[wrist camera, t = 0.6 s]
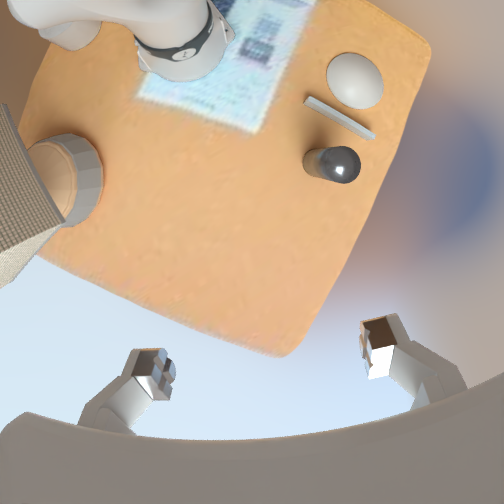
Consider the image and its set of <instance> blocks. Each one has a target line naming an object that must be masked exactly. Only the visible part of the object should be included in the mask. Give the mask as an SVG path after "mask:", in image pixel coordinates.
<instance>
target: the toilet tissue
mask: <svg viewBox="0 0 504 504" xmlns="http://www.w3.org/2000/svg"><path fill="white" fill-rule="evenodd" d="M101 24H102V21H89V20H88V21H75V22H68V23H64V24H60V25H56V26H53V27H50V28H46V29H38V31H39V35H40V36H41V37H43V38H44V39H46V40H48V41H50V42H52V43H54V44H56V45H58V46H60V47H62V48H63V49H65V50H68V51H76V50H79V49H81V48H83V47H85V46H86V45H88V44H89V43H90V42H91V41H92V40H94V38H95V37H96V36H97V34H98V32H99V30H100V28H101Z"/></svg>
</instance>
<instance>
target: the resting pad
mask: <svg viewBox="0 0 504 504" xmlns="http://www.w3.org/2000/svg"><path fill="white" fill-rule="evenodd" d="M326 79H327V84H328V87H329V89H330V91H331V92H332V94H333V95H334V96H335V98H336V99H337V100H338V101H340V102H341V103H342V104H344V105H346V106H348V107H350V108H353V109H367V108H370V107H372V106H374V105H376V104H377V103H378V102H379V100H380V99H381V97H382V94H383V89H384V84H383V79H382V76H381V74H380V72H379V70H378V69H377V67H376V66H375V65H374V64H373V63H372V62H371V61H370V60H368V59H367V58H365V57H363V56H361V55H358V54H354V53H346V54H341V55H339V56H337V57H336V58H334V59H333V60H332V61H331V63H330V64H329V66H328V68H327V73H326Z"/></svg>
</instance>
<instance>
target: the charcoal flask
mask: <svg viewBox="0 0 504 504" xmlns="http://www.w3.org/2000/svg"><path fill="white" fill-rule="evenodd" d="M303 168H304V170H305V171H306V172H307V173H308V174H309V175H311V176H314V177H318V178H322V179H326V180H330V181H334V182H338V183H343V184H345V183H350V182H352V181H353V180H355V179H356V178H357V176H358V175H359V173H360V169H361V162H360V159H359V156H358V155H357V153H356V152H355V151H354V150H353V149H351V148H349V147H346V146H339V147H329V148H321V149H313V150H310V151H308V152H307V153H306V154H305V156H304V158H303Z"/></svg>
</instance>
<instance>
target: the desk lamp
mask: <svg viewBox="0 0 504 504" xmlns="http://www.w3.org/2000/svg"><path fill="white" fill-rule="evenodd" d="M103 187H104V183H103V165H102V163H101V160H100V157H99V155H98V152H97V150H96V149H95V148H94V147H93V146H92V145H91V143H90V142H89V141H88V140H87V139H86V138H83V137H80V136H77V135H74V134H71V133H67V134H61V135H57V136H53V137H50V138H47V139H44V140H41V141H38V142H36V143H35V144H34V145H33V146H31V147H30V148H29V149H28V150H26V148H25V146H24V144H23V142H22V139H21V137H20V135H19V133H18V131H17V128H16V126H15V124H14V122H13V119H12V117H11V114H10V112H9V109H8V107H7V104H0V289H1V288H2V287H4V286H5V285H7V284H8V283H10V282H12V281H13V280H14V279H15V277H17V275H18V274H19V273H20V272H21V270H22V269H23V268H24V267H25V266H26V265H27V264H28V262H29V261H30V260H31V259H32V258H33V257H34V255H35V254H36V253H37V252H38V251H39V250H40V249H41V248H42V247H43V246H44V244H45V243H46V242H47V241H48V240H49V239H50V238H51V237H52V236H53V235H54V234H55V233H56V232H57V231H58V230H59V229H60V228H64V227H74V226H75V225H77V224H79V223H80V222H82V221H84V220H86V219H87V218H88V217H89V216H90V215H91V213H92V212H93V211H94V209H95V208H96V207H97V205H98V203H99V200H100V197H101V193H102V190H103Z"/></svg>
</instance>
